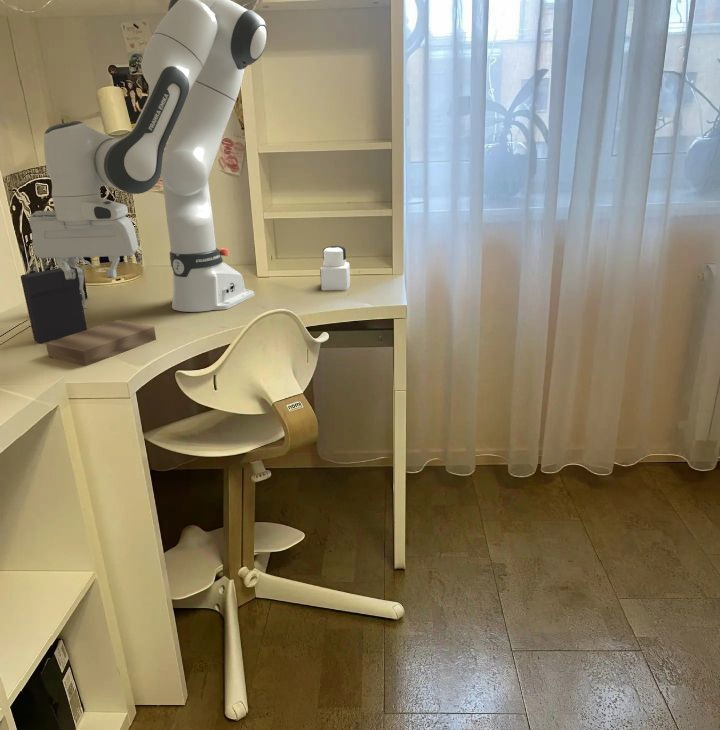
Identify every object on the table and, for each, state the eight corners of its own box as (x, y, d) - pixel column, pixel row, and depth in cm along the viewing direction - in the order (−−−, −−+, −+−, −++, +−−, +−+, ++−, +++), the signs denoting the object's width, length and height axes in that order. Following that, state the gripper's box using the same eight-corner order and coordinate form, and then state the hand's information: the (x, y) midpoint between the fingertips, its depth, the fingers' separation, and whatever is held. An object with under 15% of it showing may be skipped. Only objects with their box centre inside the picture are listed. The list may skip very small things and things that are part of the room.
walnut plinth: (119, 332, 151) (117, 319, 150) (156, 339, 145) (154, 326, 144) (48, 356, 136) (45, 342, 135) (86, 365, 130) (83, 351, 129)
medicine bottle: (325, 287, 184) (322, 244, 180) (350, 287, 183) (348, 244, 179) (321, 294, 177) (318, 249, 173) (347, 294, 177) (345, 249, 172)
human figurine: (100, 303, 176) (88, 235, 169) (108, 306, 173) (96, 237, 167) (56, 314, 167) (42, 243, 161) (63, 316, 165) (49, 244, 158)
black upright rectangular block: (80, 328, 155) (68, 265, 149) (89, 332, 152) (77, 267, 147) (32, 341, 147) (18, 274, 142) (41, 344, 144) (26, 277, 139)
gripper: (19, 213, 128) (34, 283, 133) (123, 210, 127) (134, 280, 132) (35, 209, 134) (48, 276, 139) (134, 205, 133) (145, 273, 138)
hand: (91, 278), depth 135 cm, fingers open, 7 cm apart
